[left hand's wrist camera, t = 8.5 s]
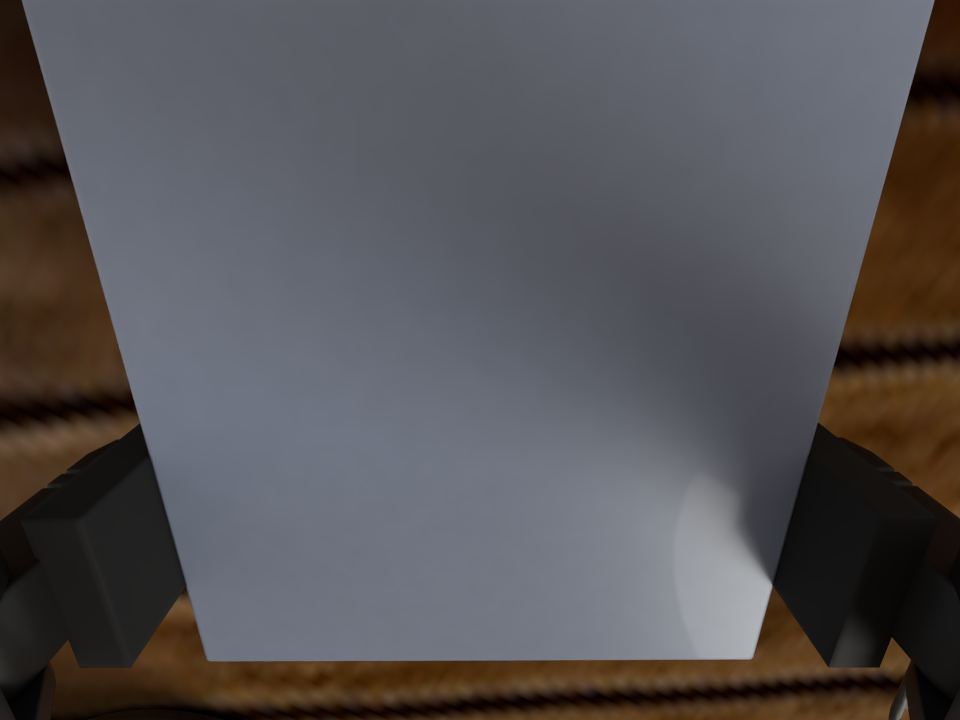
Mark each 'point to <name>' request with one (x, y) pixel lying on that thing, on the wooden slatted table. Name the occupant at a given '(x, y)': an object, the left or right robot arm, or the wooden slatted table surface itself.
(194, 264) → the cabinet
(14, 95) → the wooden slatted table surface
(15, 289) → the wooden slatted table surface
